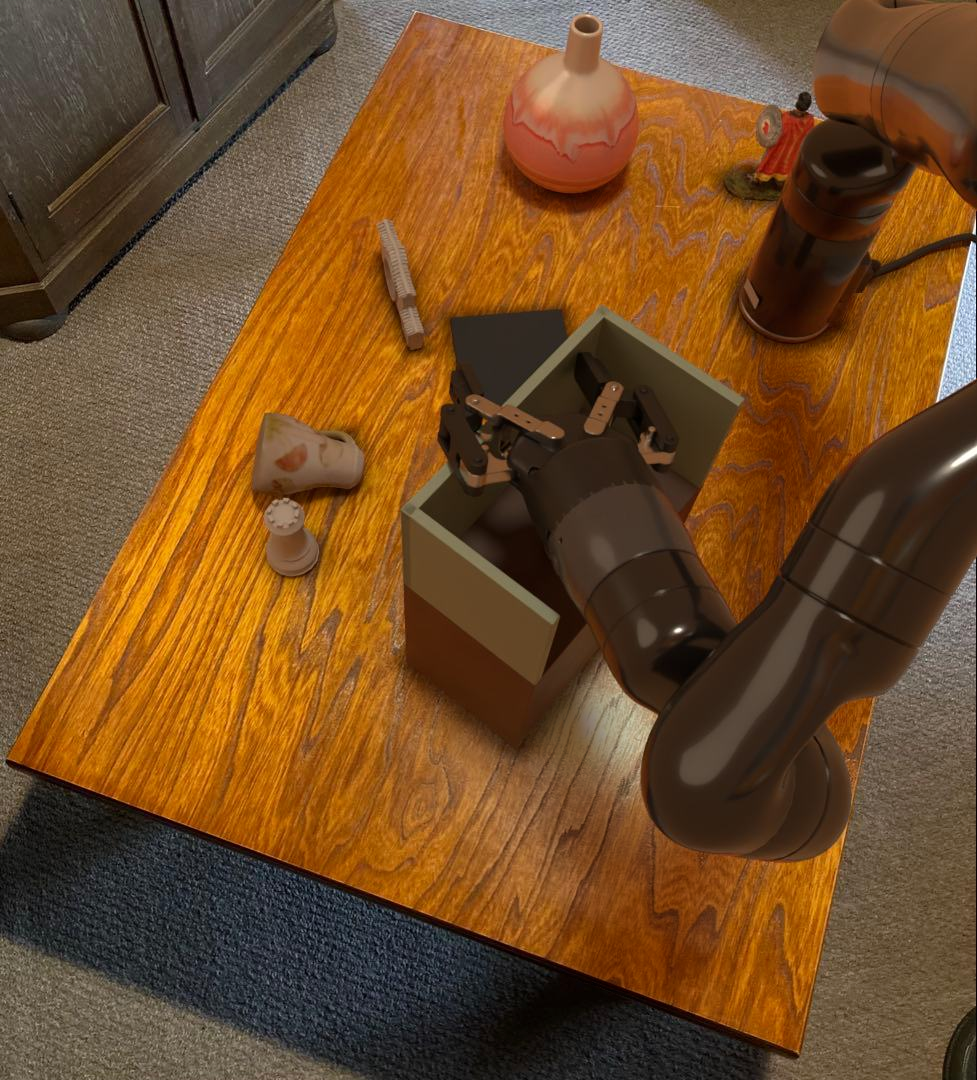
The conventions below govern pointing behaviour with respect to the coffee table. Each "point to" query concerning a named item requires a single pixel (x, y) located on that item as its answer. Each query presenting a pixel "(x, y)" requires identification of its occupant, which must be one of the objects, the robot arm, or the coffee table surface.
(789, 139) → the figurine
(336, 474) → the mug
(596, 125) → the vase
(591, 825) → the coffee table surface
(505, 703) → the bay
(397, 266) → the garden wall model
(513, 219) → the coffee table surface
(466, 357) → the mat
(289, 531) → the rook chess piece
